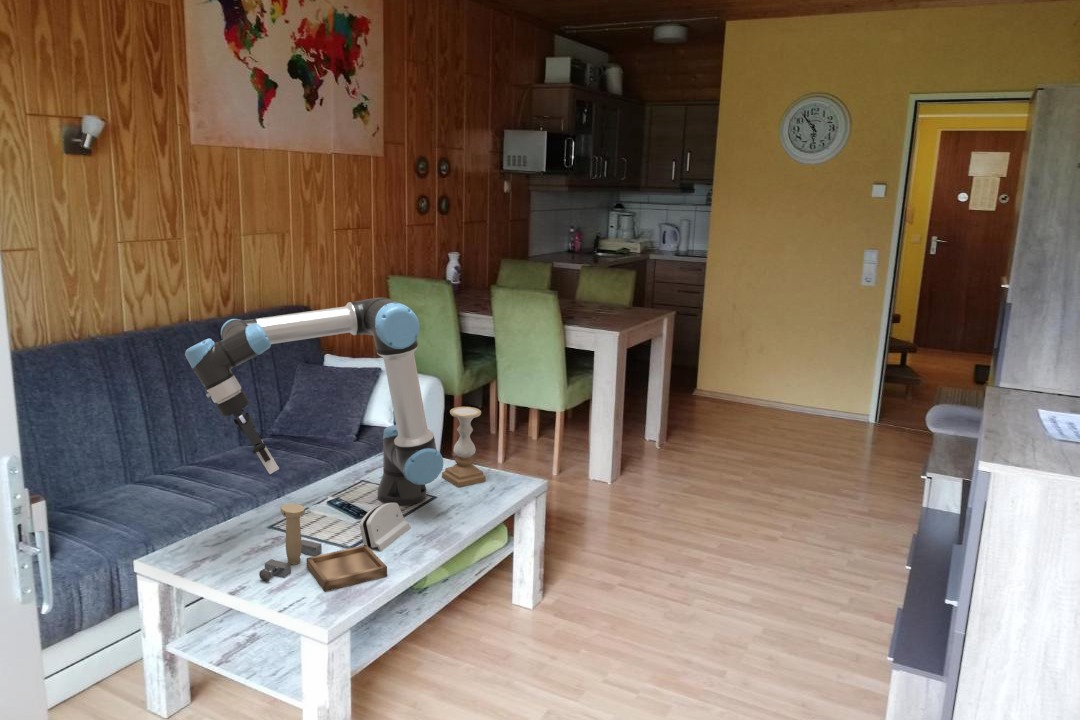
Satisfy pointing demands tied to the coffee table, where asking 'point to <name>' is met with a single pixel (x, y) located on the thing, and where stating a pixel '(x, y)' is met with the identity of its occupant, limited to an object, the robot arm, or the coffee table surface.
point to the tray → (346, 567)
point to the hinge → (383, 526)
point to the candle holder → (464, 451)
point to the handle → (293, 531)
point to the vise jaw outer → (275, 569)
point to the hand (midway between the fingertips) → (272, 467)
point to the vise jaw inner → (311, 548)
